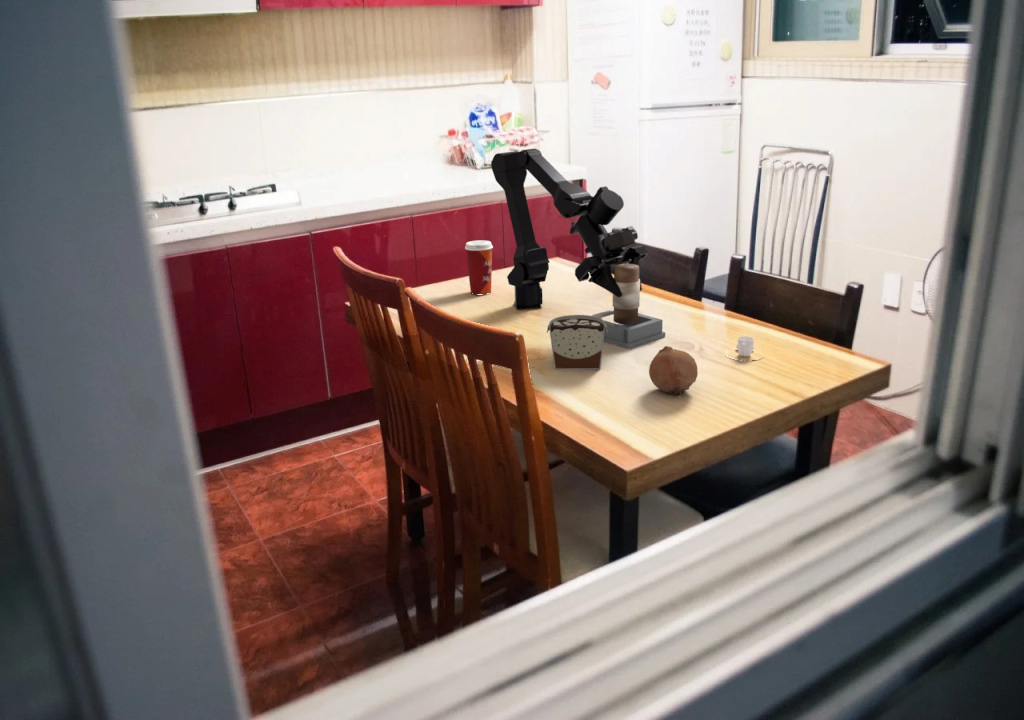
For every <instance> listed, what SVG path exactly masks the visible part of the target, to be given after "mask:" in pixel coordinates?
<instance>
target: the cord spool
mask: <svg viewBox="0 0 1024 720" xmlns="http://www.w3.org/2000/svg"><path fill="white" fill-rule="evenodd" d="M639 277H640V266H639V264H638V265H635V264H618V265H615V266H613V278H614V279H615V281H616V283H617V285H618V287H619V288H620V290H621V293H622V296H621V297H617V296H615V295H614V294H612V307H613V309H614V314H613V323H615V324H633V323H636V322H638V313H639V307H640V301H641V299H640V297H641V296H640V295H641V293H640V292H641V291H640V282H641V278H640V279H639Z"/></svg>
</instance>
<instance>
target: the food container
mask: <svg viewBox="0 0 1024 720" xmlns="http://www.w3.org/2000/svg"><path fill="white" fill-rule="evenodd" d="M605 321H606V320H605ZM605 321H604V319H602V318H598V317H594V316H592V315H586V314H569V315H568V314H567V315H562V316H559V317H555V318H553V319H551V320H550V321H549V323H548V325H547V329H546V333H549V336H550V345H551V351H552V359H553V368H554V370H585V371H587V370H590V371H592V370H594V371H595V370H601V367H602V358H603V348H604V342H605V341H604V333H605V330H606V331H607V326H606V324H605ZM607 333H608V331H607Z"/></svg>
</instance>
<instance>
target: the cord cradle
mask: <svg viewBox="0 0 1024 720" xmlns="http://www.w3.org/2000/svg"><path fill="white" fill-rule="evenodd" d="M612 315H613V316H614V308H612V309H609V310H605V311H602V312H598V313H595V314H592V315H591V316H594V317H598V318H601V319H602V318H606V317H608V316H612ZM603 320H604V319H603ZM604 321H605V324H606V326H607V331H608V333H607V331H606V330H605V333H604V342H606V343H609V344H612V345H615V346H618V347H621V348H624V349H628V350H630V349H632V348H635V347H639V346H641V345H644V344H648V343H651V342H653V341H656V340H659V339H662V338H665V337H666V332H665V331H663V319H661V318H658V317H654V316H651V315H646V314H642V313H639V312H638V322H636V323H633V324H619V323H616V322H611V321H607V320H604Z"/></svg>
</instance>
